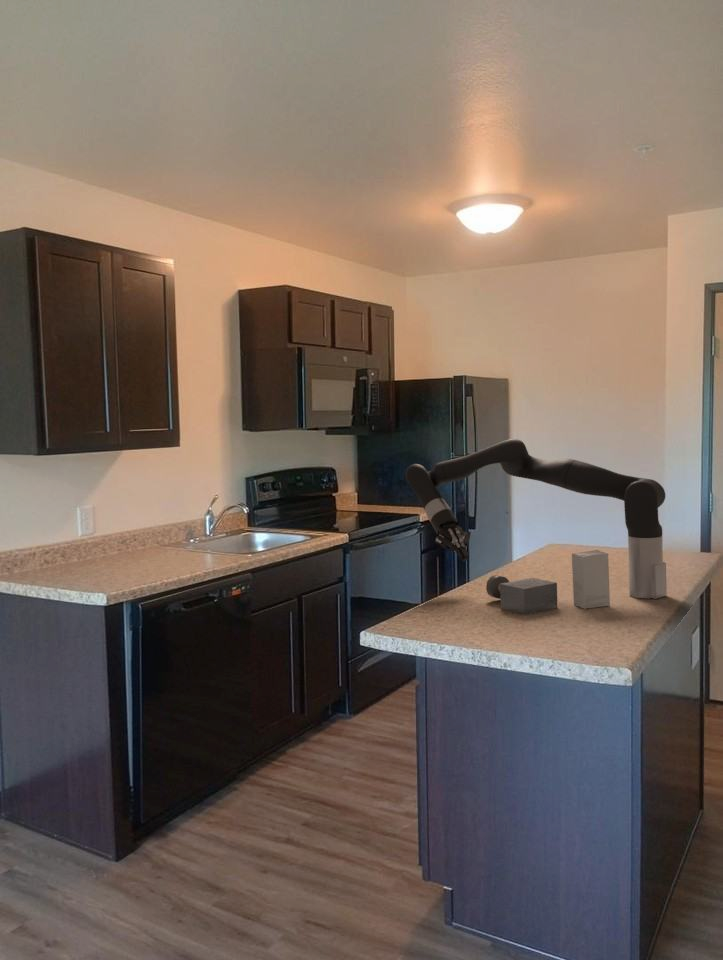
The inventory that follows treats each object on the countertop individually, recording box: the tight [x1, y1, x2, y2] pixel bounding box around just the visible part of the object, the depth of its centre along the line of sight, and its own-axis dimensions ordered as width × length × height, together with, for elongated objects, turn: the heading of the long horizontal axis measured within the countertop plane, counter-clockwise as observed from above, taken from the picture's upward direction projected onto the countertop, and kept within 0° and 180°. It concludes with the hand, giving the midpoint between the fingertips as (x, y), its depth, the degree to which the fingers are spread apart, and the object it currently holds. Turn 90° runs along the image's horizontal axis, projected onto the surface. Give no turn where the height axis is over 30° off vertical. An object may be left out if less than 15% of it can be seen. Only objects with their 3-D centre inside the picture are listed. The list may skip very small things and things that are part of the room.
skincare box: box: [571, 549, 611, 610], centre depth 214 cm, size 8×6×15 cm
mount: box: [500, 577, 559, 616], centre depth 215 cm, size 10×12×7 cm
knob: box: [485, 574, 510, 600], centre depth 222 cm, size 11×6×6 cm, turn 31°
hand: (465, 559), depth 236 cm, fingers closed
